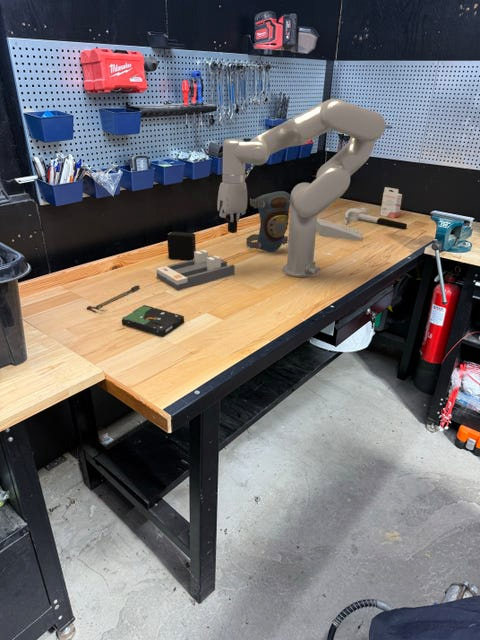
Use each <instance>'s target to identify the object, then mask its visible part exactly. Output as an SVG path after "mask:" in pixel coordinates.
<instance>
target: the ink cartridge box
mask: <svg viewBox="0 0 480 640" xmlns="http://www.w3.org/2000/svg"><path fill="white" fill-rule="evenodd" d="M383 189H384V190H383V193H382V200H381V208H380V216H383V217H387V218H392V219H395V218H399V216H400V210H401V205H402V200H403V199H402V198H403V194H401V193H399V188H393V187H388V186H387V187H386V186H385V187H384V188H383Z"/></svg>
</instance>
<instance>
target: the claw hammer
mask: <svg viewBox="0 0 480 640" xmlns="http://www.w3.org/2000/svg"><path fill="white" fill-rule="evenodd" d="M360 220H362V221H366V222H371V223H375V224H378V225H381V226H386V227H390V228H395V229H400V230H406V229H407V226H408V224H407V223H406V222H401V221H397V220H396V221H395V220H393V219H387V218H383V217H379V216H378V217H376V216H373V215H369V214H368V210H367V208H366V207H361V208H355V207H351V208H350V209H348V210H346V211H345V214H344V219H343V224H344V226H347V224H348V222H355V221H357V222H358V221H360Z"/></svg>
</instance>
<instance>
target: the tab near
mask: <svg viewBox="0 0 480 640" xmlns="http://www.w3.org/2000/svg"><path fill="white" fill-rule="evenodd" d="M210 255H211V254H210ZM212 255H213V254H212ZM212 255H211V257H208V258H207V271H210V270H213V269H217V268H221V259H222V257H220V256H218V255H213V256H212Z"/></svg>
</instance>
